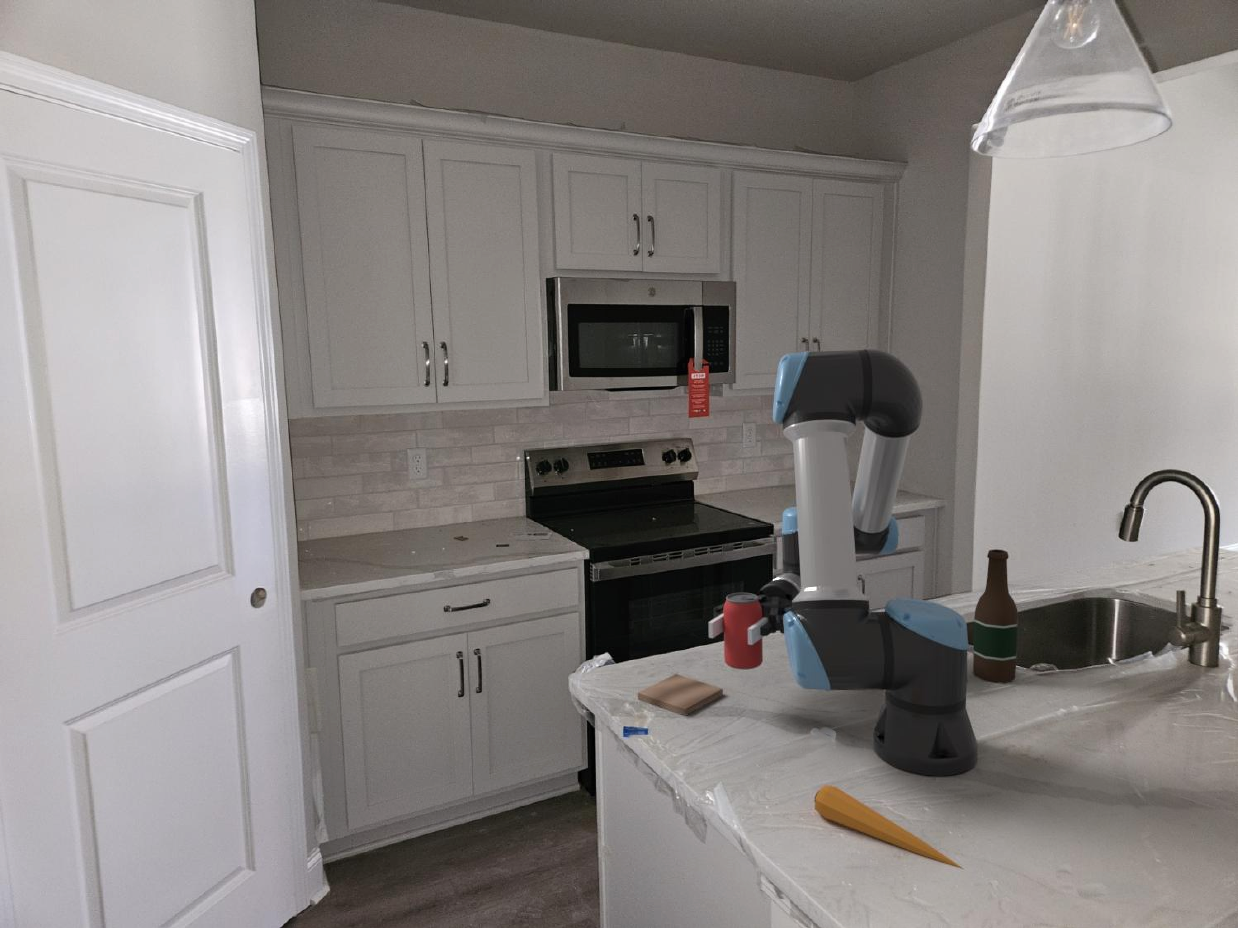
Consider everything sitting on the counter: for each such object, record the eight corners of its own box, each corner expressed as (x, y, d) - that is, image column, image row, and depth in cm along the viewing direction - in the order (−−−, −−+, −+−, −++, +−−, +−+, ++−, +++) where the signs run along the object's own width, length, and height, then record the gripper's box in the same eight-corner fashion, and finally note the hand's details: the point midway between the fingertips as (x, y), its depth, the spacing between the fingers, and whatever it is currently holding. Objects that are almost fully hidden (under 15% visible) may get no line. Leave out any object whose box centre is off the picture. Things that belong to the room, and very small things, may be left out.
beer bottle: (984, 663, 159) (987, 543, 156) (1024, 675, 153) (1029, 550, 150) (964, 675, 155) (966, 551, 151) (1005, 687, 149) (1009, 558, 145)
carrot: (811, 819, 112) (807, 797, 110) (828, 795, 114) (824, 773, 112) (958, 895, 98) (956, 872, 96) (973, 866, 101) (971, 843, 99)
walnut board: (722, 694, 150) (722, 688, 150) (685, 715, 142) (684, 709, 142) (676, 679, 158) (676, 673, 157) (638, 698, 150) (637, 692, 150)
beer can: (762, 671, 139) (761, 603, 138) (723, 670, 140) (721, 602, 139) (763, 657, 145) (762, 591, 144) (725, 656, 147) (724, 591, 145)
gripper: (832, 624, 152) (785, 664, 133) (736, 609, 163) (679, 645, 144) (832, 584, 151) (784, 620, 132) (736, 572, 162) (678, 604, 143)
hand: (730, 633), depth 138 cm, fingers closed on beer can, 6 cm apart
